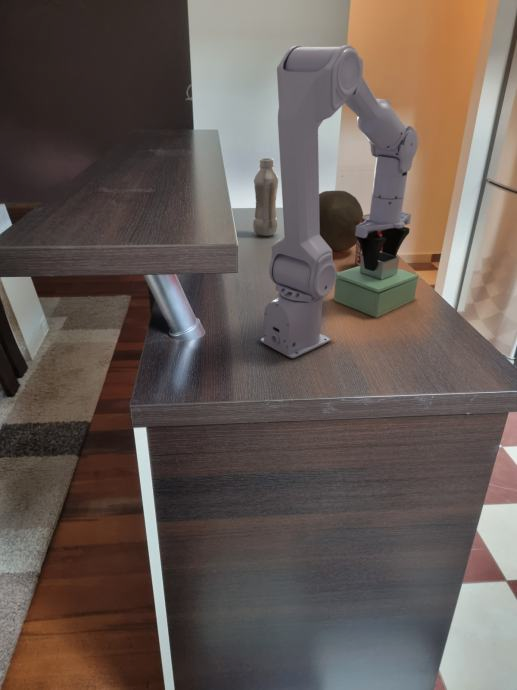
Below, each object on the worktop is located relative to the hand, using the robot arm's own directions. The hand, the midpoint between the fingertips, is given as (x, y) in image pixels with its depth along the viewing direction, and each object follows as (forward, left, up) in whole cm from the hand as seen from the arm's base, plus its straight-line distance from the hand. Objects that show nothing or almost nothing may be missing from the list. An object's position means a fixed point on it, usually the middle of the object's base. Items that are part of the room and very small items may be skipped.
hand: (378, 266), depth 100 cm
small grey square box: (0, 0, -1) cm, 1 cm away
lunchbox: (0, 0, -7) cm, 7 cm away
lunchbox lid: (0, 0, -2) cm, 2 cm away
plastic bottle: (+13, +47, -8) cm, 49 cm away
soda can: (+14, +12, -8) cm, 20 cm away
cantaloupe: (+17, +26, -8) cm, 32 cm away
